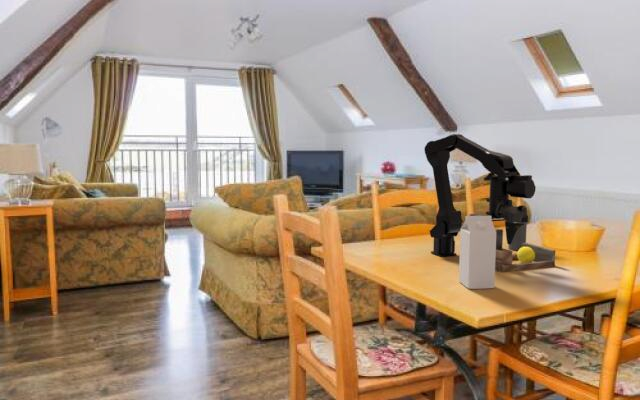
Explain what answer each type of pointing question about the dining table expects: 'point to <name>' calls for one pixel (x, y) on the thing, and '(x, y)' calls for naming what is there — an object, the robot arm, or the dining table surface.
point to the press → (542, 259)
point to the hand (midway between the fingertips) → (497, 245)
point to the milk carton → (477, 252)
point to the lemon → (526, 254)
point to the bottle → (519, 238)
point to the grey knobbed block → (502, 249)
